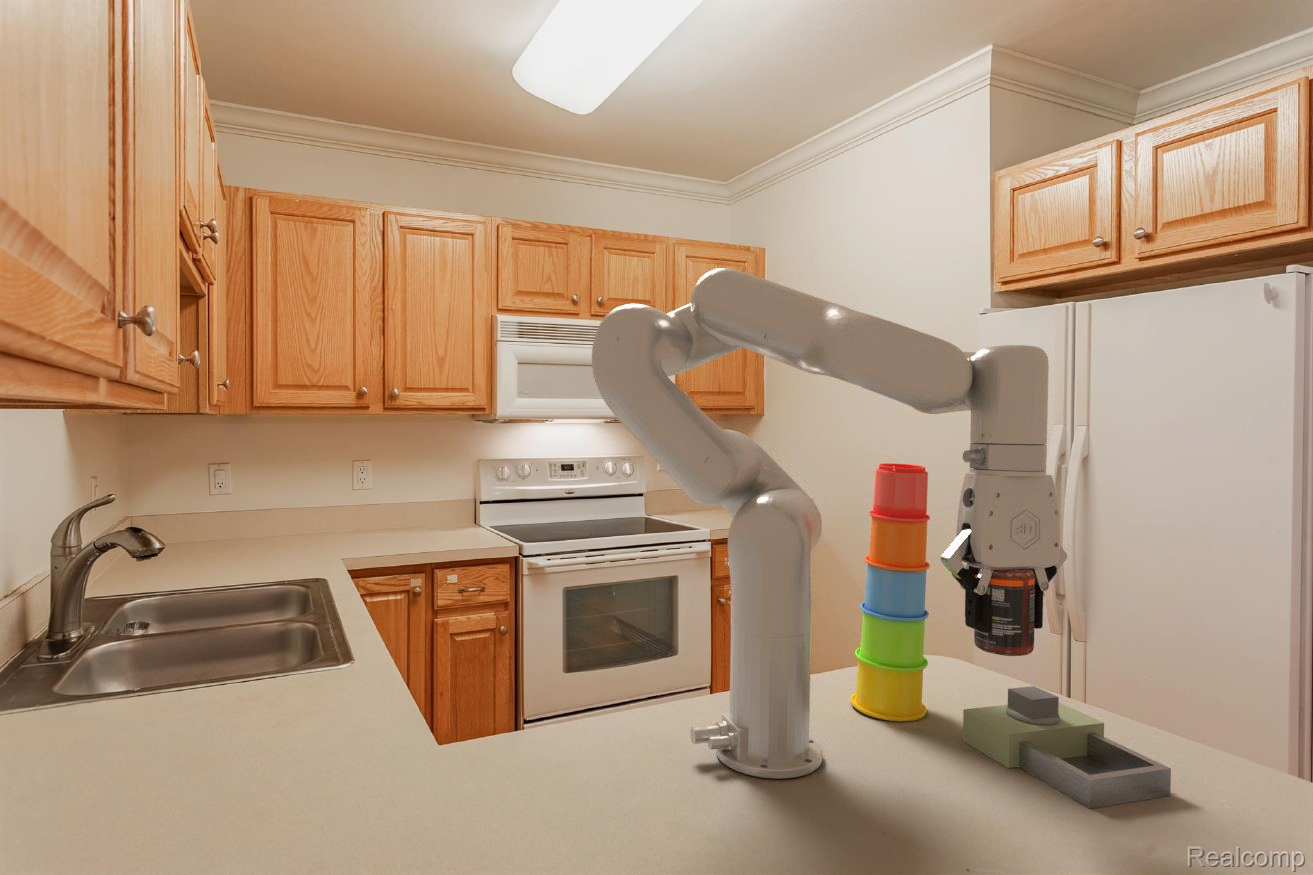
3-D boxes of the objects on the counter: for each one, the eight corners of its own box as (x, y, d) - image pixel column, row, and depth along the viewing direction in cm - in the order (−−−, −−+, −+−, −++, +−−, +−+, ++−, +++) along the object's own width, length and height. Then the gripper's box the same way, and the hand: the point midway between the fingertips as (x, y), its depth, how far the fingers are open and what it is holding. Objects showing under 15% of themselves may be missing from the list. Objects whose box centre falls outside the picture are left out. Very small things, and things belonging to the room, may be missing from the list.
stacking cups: (918, 697, 111) (923, 462, 110) (933, 725, 101) (939, 466, 100) (847, 693, 113) (851, 461, 112) (854, 719, 102) (859, 464, 102)
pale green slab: (1008, 768, 88) (1009, 709, 88) (962, 740, 96) (963, 686, 96) (1103, 755, 92) (1104, 699, 92) (1052, 729, 100) (1053, 677, 100)
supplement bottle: (1021, 643, 84) (1024, 542, 84) (1043, 659, 78) (1045, 551, 78) (966, 640, 85) (968, 540, 85) (983, 656, 79) (985, 549, 79)
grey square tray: (1089, 808, 79) (1090, 780, 79) (1019, 766, 89) (1019, 741, 89) (1170, 795, 82) (1170, 768, 82) (1093, 756, 92) (1094, 732, 92)
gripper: (962, 462, 75) (958, 642, 76) (1100, 463, 80) (1096, 631, 80) (916, 459, 83) (913, 622, 83) (1046, 459, 87) (1042, 614, 88)
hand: (1003, 625), depth 82 cm, fingers closed on supplement bottle, 6 cm apart
